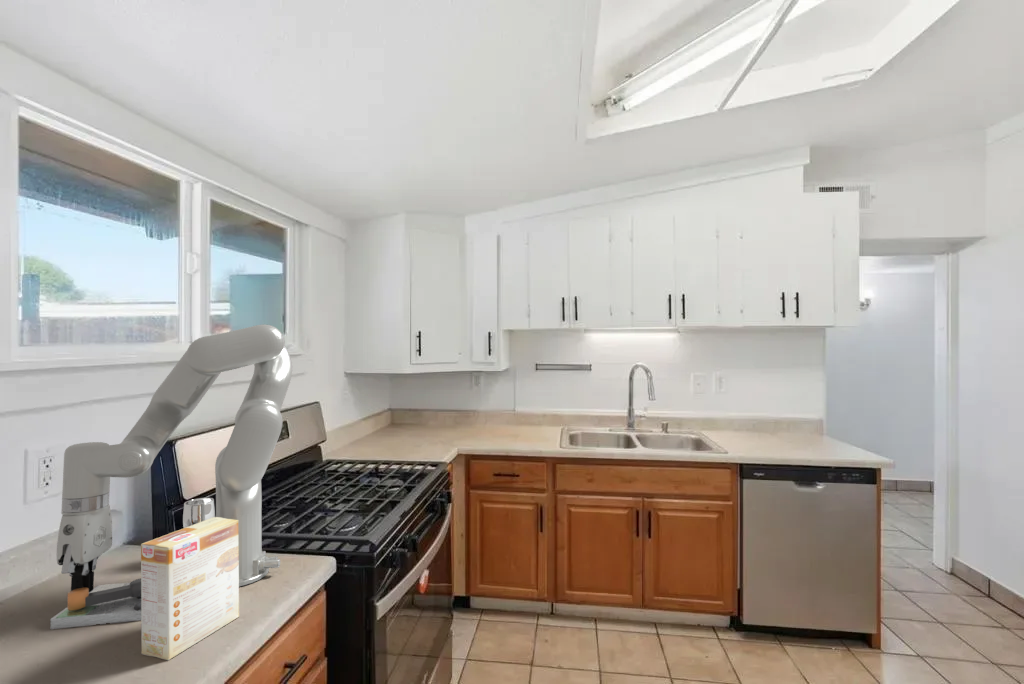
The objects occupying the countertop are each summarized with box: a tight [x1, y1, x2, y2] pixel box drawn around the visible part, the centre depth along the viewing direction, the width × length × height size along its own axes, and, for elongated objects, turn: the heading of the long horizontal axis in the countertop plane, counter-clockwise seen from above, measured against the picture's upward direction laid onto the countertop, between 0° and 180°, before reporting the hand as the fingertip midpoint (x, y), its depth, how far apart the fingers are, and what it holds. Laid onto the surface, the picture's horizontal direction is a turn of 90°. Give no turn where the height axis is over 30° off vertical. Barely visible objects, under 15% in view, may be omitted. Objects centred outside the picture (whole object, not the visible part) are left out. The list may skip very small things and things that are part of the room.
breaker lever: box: [67, 578, 141, 611], centre depth 102 cm, size 13×4×3 cm, turn 122°
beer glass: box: [182, 497, 216, 529], centre depth 128 cm, size 7×7×15 cm
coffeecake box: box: [140, 516, 240, 661], centre depth 93 cm, size 15×7×20 cm, turn 162°
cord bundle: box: [134, 601, 141, 611], centre depth 105 cm, size 4×17×3 cm, turn 10°
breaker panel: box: [50, 582, 141, 630], centre depth 104 cm, size 16×14×2 cm
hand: (82, 592), depth 102 cm, fingers closed
